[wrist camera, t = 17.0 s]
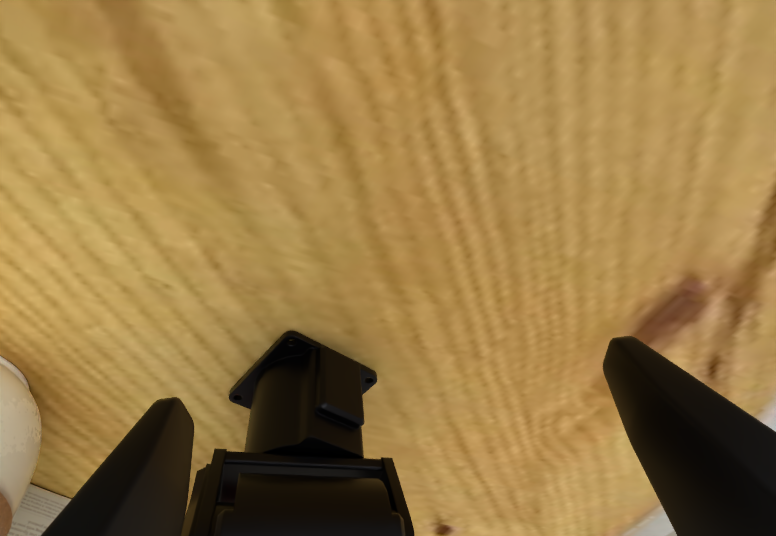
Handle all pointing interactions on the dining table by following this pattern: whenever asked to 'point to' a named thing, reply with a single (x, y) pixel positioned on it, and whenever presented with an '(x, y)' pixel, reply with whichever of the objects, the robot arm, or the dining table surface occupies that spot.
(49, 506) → the small box
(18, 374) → the trinket box
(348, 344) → the dining table surface
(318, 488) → the robot arm
